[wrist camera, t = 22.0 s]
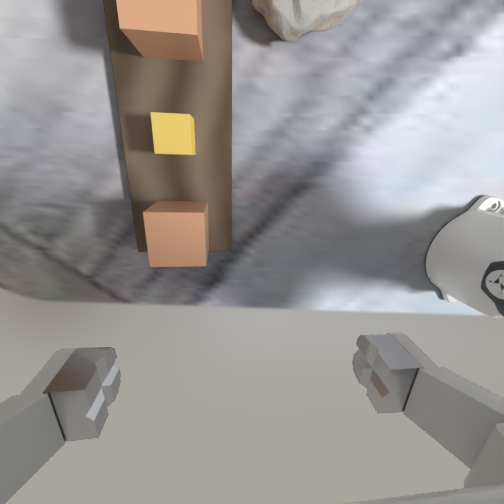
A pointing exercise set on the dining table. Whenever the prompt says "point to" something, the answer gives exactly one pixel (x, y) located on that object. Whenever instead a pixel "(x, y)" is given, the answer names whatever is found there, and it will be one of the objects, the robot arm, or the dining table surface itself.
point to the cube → (173, 133)
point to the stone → (303, 15)
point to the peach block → (163, 27)
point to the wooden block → (177, 233)
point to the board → (181, 102)
